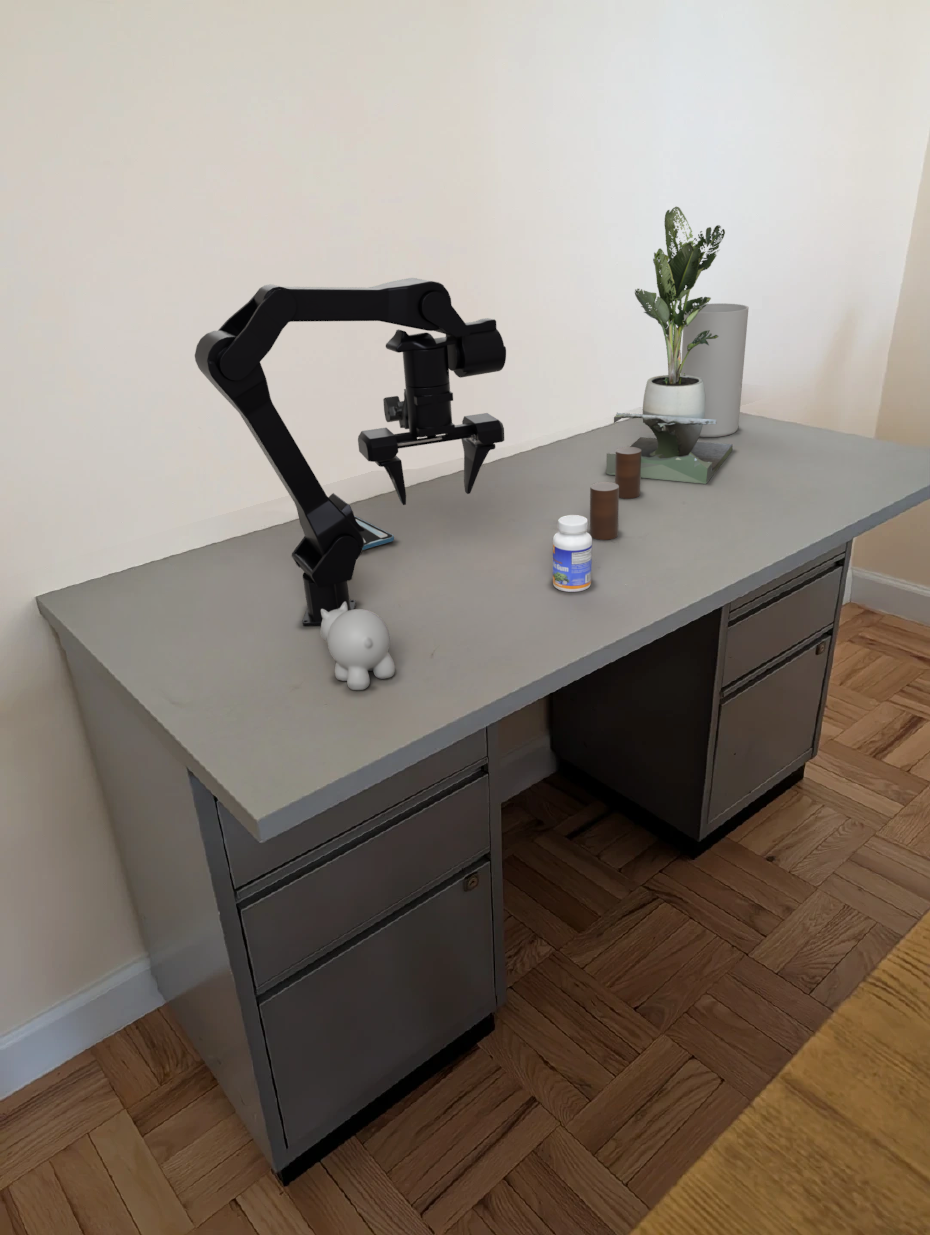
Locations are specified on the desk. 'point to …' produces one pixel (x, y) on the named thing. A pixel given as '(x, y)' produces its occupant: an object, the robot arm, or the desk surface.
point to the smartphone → (373, 534)
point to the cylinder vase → (718, 363)
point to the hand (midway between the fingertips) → (435, 498)
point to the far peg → (628, 471)
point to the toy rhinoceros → (357, 645)
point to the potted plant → (677, 369)
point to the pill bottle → (572, 554)
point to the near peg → (604, 510)
